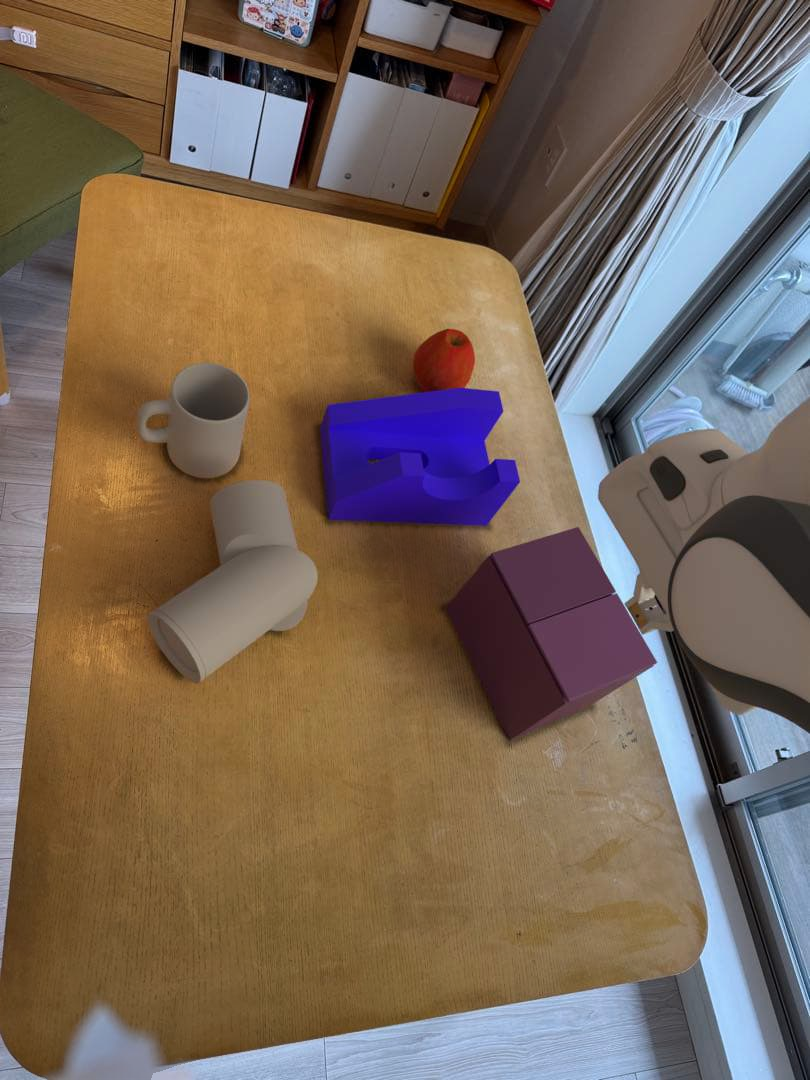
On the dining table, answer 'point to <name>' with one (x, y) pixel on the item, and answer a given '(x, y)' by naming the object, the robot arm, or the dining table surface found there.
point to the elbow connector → (238, 583)
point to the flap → (592, 646)
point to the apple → (444, 361)
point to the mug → (201, 419)
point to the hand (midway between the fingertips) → (639, 617)
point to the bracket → (415, 459)
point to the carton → (502, 625)
